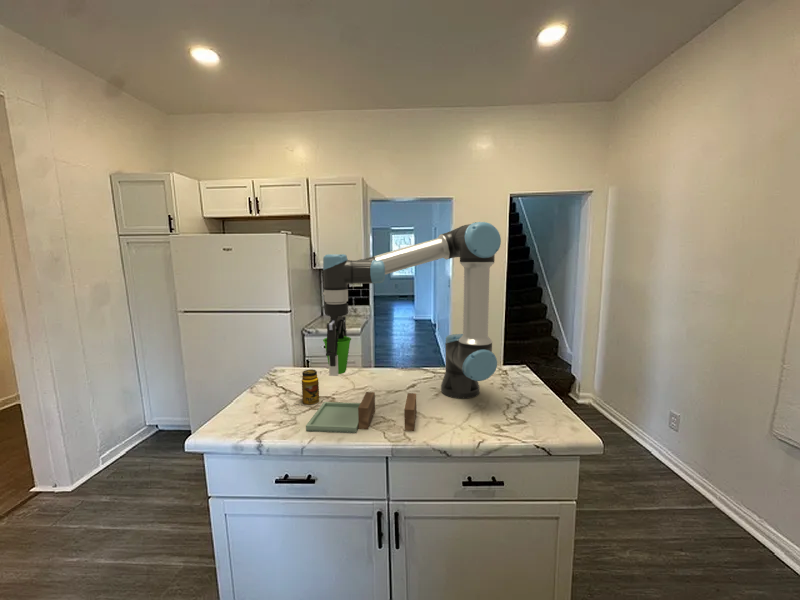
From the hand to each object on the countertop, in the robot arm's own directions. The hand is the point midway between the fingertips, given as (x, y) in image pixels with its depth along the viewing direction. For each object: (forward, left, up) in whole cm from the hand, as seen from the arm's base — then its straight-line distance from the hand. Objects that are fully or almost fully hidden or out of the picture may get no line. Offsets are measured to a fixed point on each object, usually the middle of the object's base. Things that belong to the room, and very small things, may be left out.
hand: (338, 370), depth 116 cm
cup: (0, 0, -1) cm, 1 cm away
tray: (0, 0, -17) cm, 17 cm away
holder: (-17, 0, -17) cm, 24 cm away
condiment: (+15, -13, -17) cm, 27 cm away
